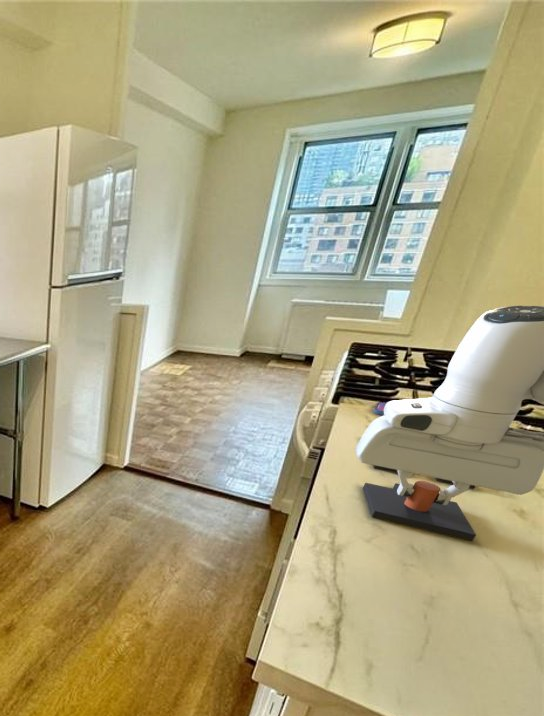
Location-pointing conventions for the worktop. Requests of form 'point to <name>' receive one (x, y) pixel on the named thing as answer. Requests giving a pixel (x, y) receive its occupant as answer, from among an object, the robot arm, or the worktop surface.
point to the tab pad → (414, 518)
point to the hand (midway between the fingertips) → (420, 498)
